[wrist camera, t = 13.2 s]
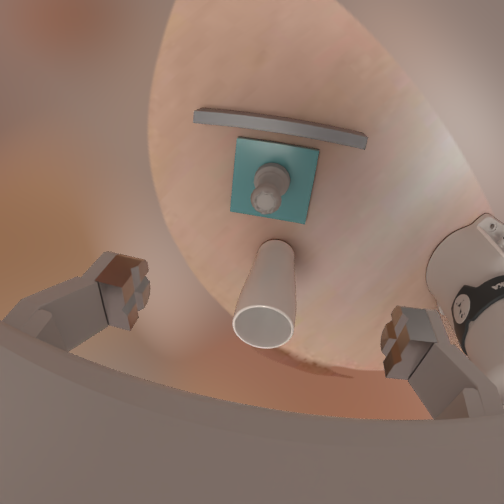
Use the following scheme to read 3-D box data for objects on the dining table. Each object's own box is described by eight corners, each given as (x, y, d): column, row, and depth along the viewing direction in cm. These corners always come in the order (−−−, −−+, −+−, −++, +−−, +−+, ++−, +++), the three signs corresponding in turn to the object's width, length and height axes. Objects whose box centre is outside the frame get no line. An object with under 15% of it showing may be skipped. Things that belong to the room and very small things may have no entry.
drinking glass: (283, 280, 48) (272, 357, 35) (244, 258, 47) (220, 331, 34) (309, 249, 44) (307, 324, 32) (268, 224, 43) (251, 294, 31)
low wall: (363, 132, 35) (367, 137, 32) (360, 144, 35) (365, 149, 33) (201, 107, 36) (194, 110, 34) (201, 119, 37) (193, 122, 34)
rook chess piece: (280, 155, 37) (274, 175, 30) (296, 187, 39) (294, 213, 32) (248, 170, 39) (235, 193, 32) (264, 200, 40) (255, 229, 34)
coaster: (318, 149, 37) (319, 151, 36) (304, 220, 42) (304, 224, 41) (238, 136, 38) (236, 138, 37) (231, 208, 43) (230, 211, 42)
